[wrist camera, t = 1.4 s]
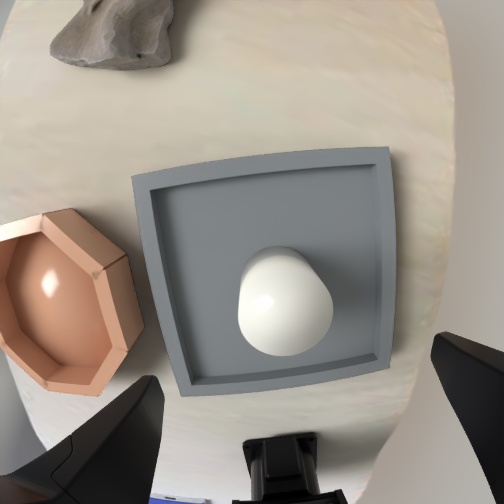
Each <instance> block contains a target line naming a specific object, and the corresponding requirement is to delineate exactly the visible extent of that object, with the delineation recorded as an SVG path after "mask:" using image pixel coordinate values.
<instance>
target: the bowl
mask: <svg viewBox="0 0 504 504" xmlns="http://www.w3.org/2000/svg"><path fill="white" fill-rule="evenodd" d="M125 254H126V253H125V252H124V251H123V250H121V249H120V248H119V247H118V246H116V245H115V244H114V243H113V242H111V241H110V240H109V239H108V238H107V237H105V236H104V235H103V234H102V233H101V232H99V231H98V230H97V229H96V228H95V227H93V226H92V225H91V224H90V223H89V222H88V221H86V220H85V219H84V218H83V217H82V216H81V215H79V214H78V213H77V212H76V211H75V210H74V209H71V208H69V209H64V210H58V211H54V212H49V213H44V214H40V215H36V216H33V217H29V218H26V219H22V220H19V221H15V222H12V223H9V224H6V225H2V226H0V346H1V348H2V349H3V350H4V352H5V353H6V354H7V355H8V356H9V357H10V358H11V359H12V360H13V361H14V362H15V363H17V364H18V365H19V366H20V367H21V368H22V369H23V370H24V371H25V372H26V373H27V374H28V375H29V376H30V377H32V378H33V379H34V380H35V381H36V382H37V383H38V384H39V385H41V386H42V387H43V388H44V389H45V390H46V389H47V391H52V392H59V393H67V394H76V395H85V396H96V397H98V396H100V394H101V393H102V391H103V390H104V388H105V387H106V385H107V384H108V382H109V381H110V379H111V378H112V376H113V375H114V373H115V371H116V370H117V368H118V367H119V365H120V364H121V362H122V361H123V359H124V358H125V356H126V355H127V353H128V352H129V350H130V349H131V347H132V346H133V344H134V343H135V341H136V340H137V338H138V337H139V335H140V334H141V332H142V331H143V329H144V323H143V319H142V315H141V311H140V308H139V304H138V300H137V296H136V291H135V287H134V283H133V279H132V274H131V270H130V265H129V260H128V256H125Z"/></svg>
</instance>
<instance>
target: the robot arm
mask: <svg viewBox="0 0 504 504" xmlns="http://www.w3.org/2000/svg"><path fill="white" fill-rule="evenodd" d="M431 361H432V363H433V365H434V368H435V370H436V372H437V375H438V377H439V380H440V382H441V384H442V387H443V389H444V391H445V394H446V396H447V398H448V400H449V401H450V404H451V405H452V407H453V409H454V411H455V413H456V415H457V417H458V419H459V421H460V423H461V425H462V427H463V429H464V431H465V433H466V435H467V437H468V439H469V441H470V443H471V445H472V447H473V449H474V452H475V454H476V456H477V458H478V460H479V463H480V465H481V466H482V469H483V472H484V474H485V476H486V479H487V481H488V484H489V486H490V489H491V491H492V494H493V496H494V499H495V501H496V504H504V352H502V351H499V350H496V349H493V348H490V347H488V346H485V345H482V344H480V343H477V342H474V341H471V340H469V339H466V338H463V337H460V336H458V335H455V334H452V333H449V332H441V333H438V334H436V335H435V337H434V341H433V346H432V350H431ZM164 402H165V398H164V393H163V391H162V388H161V386H160V383H159V381H158V379H157V377H156V376H154V375H145V376H142V377H141V378H140V379H138V380H137V381H136V382H135V383H134V384H132V385H131V386H130V387H129V388H127V389H126V390H125V391H124V392H123V393H121V394H120V395H119V396H118V397H116V398H115V399H114V400H113V401H111V402H110V403H109V404H108V405H107V406H105V407H104V408H103V409H102V410H100V411H99V412H98V413H97V414H95V415H94V416H93V417H92V418H90V419H89V420H88V421H87V422H85V423H84V424H83V425H81V426H80V427H79V428H78V429H76V430H75V431H74V432H73V433H72V434H71V435H69V436H67V437H66V438H65V439H64V440H62V441H61V442H60V443H58V444H57V445H55V446H54V447H53V448H51V449H50V450H48V451H47V452H45V453H44V454H42V455H41V456H39V457H38V458H36V459H34V460H33V461H31V462H29V463H28V464H26V465H24V466H23V467H21V468H19V469H18V470H16V471H14V472H12V473H10V474H7V475H3V476H0V504H149V499H150V494H151V488H152V483H153V478H154V473H155V468H156V463H157V458H158V453H159V448H160V443H161V435H162V424H163V413H164ZM243 452H244V455H245V459H246V463H247V467H248V471H249V475H250V478H251V501H239V500H232V504H348V503H347V501H346V498H345V496H344V494H343V492H342V489H339V490H335V491H333V492H328V493H322V494H321V493H320V489H319V484H318V479H317V475H316V460H317V437H316V434H315V433H308V434H301V435H295V436H288V437H280V438H271V439H262V440H250V441H245V442H243Z"/></svg>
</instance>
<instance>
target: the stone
mask: <svg viewBox="0 0 504 504" xmlns="http://www.w3.org/2000/svg"><path fill="white" fill-rule="evenodd" d="M173 16H174V7H173V0H84V4H83V7H82V8H81V9H80V10H79V12H78V13H77V14H76V15H75V16H74V17H73V18H72V19H71V21H70V22H69V23H68V24H67V25H66V26H65V27H64V28H63V29H62V30H61V31H60V32H59V33H58V34H57V36H56V37H55V38H54V39H53V41H52V42H51V44H50V55H51V56H53V57H54V58H56V59H58V60H60V61H62V62H64V63H67V64H70V65H75V66H83V67H95V66H97V67H100V68H110V69H115V70H131V69H143V68H147V67H158V66H162V65H165V64H166V63H168V62H169V61H170V60H171V58H172V53H171V45H170V37H169V35H168V31H167V28H168V26H169V25H170V24H171V22H172V19H173Z"/></svg>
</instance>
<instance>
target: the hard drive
mask: <svg viewBox="0 0 504 504" xmlns="http://www.w3.org/2000/svg"><path fill="white" fill-rule="evenodd" d="M149 504H206V500H205V499H198V498H187V497H177V496H169V495H162V494H155V493H151V494H150V499H149Z"/></svg>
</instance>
